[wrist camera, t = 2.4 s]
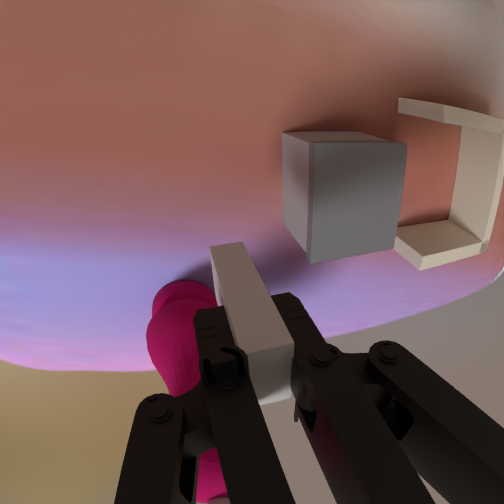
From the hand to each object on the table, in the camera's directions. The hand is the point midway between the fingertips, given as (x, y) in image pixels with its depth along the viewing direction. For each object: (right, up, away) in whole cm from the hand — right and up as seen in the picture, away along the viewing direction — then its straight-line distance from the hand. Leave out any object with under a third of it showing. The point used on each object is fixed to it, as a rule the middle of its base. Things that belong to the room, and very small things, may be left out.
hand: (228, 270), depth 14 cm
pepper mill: (-5, -4, +15) cm, 16 cm away
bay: (+20, +9, +14) cm, 26 cm away
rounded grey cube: (+7, +7, +12) cm, 15 cm away
